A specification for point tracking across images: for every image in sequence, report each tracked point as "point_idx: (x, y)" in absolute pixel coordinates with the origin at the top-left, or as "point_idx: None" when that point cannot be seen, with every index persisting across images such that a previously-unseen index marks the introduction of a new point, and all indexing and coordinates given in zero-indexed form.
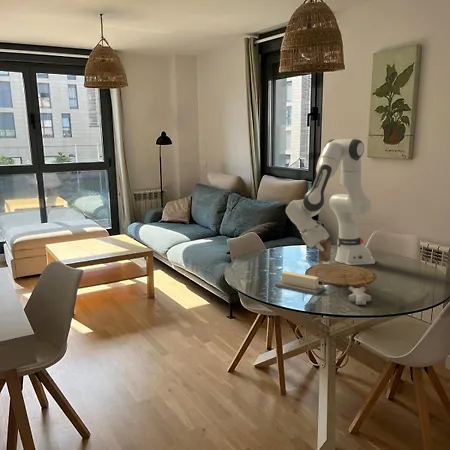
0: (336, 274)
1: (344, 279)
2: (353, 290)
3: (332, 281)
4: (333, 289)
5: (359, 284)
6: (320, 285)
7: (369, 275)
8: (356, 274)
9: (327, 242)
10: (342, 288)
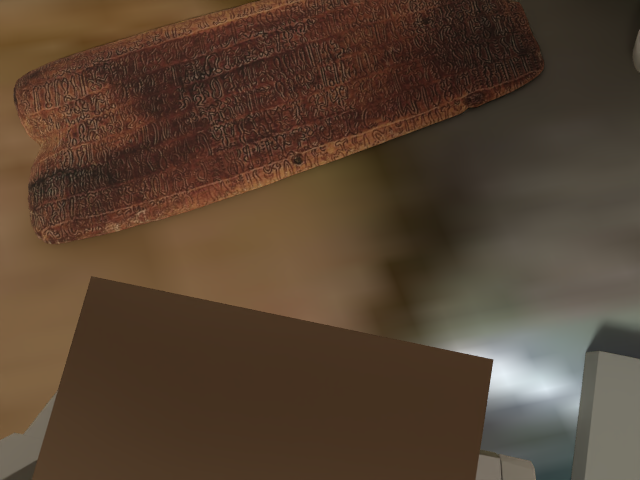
0: (63, 321)
1: (206, 212)
2: None
3: (311, 319)
4: (559, 261)
5: (351, 43)
6: (605, 403)
7: (16, 15)
8: (14, 128)
9: (454, 372)
10: (490, 183)
